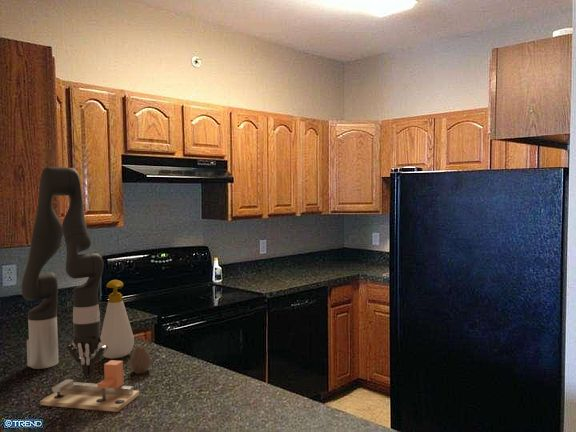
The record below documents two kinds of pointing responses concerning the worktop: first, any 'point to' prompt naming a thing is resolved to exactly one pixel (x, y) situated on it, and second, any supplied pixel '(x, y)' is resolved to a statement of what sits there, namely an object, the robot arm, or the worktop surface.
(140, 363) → the vase
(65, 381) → the rail
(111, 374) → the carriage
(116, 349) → the soap bottle
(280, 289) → the worktop surface
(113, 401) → the hole board
